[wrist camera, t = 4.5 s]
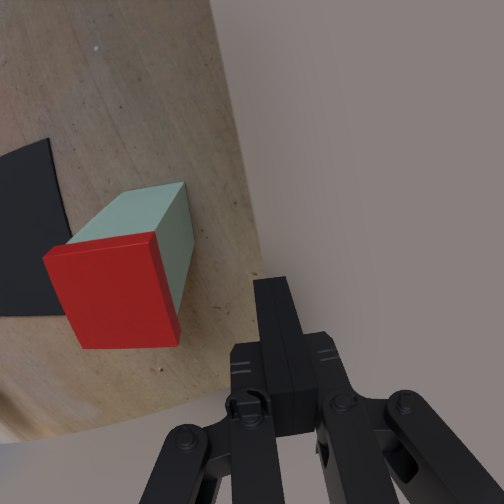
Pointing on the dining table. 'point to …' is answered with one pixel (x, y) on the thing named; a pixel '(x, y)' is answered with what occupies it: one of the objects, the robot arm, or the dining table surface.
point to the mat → (29, 230)
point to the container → (127, 270)
